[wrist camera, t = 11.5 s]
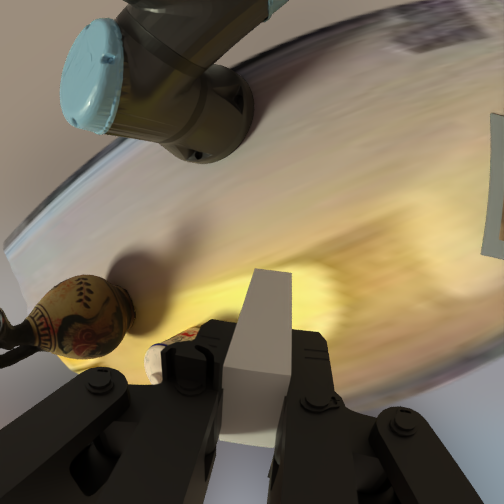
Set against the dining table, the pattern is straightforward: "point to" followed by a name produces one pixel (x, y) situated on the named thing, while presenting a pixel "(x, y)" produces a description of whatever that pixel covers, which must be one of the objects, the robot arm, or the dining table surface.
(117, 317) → the ceramic jug
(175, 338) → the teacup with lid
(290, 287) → the robot arm
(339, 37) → the dining table surface
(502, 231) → the walnut slab
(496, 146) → the slate mat
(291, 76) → the dining table surface
